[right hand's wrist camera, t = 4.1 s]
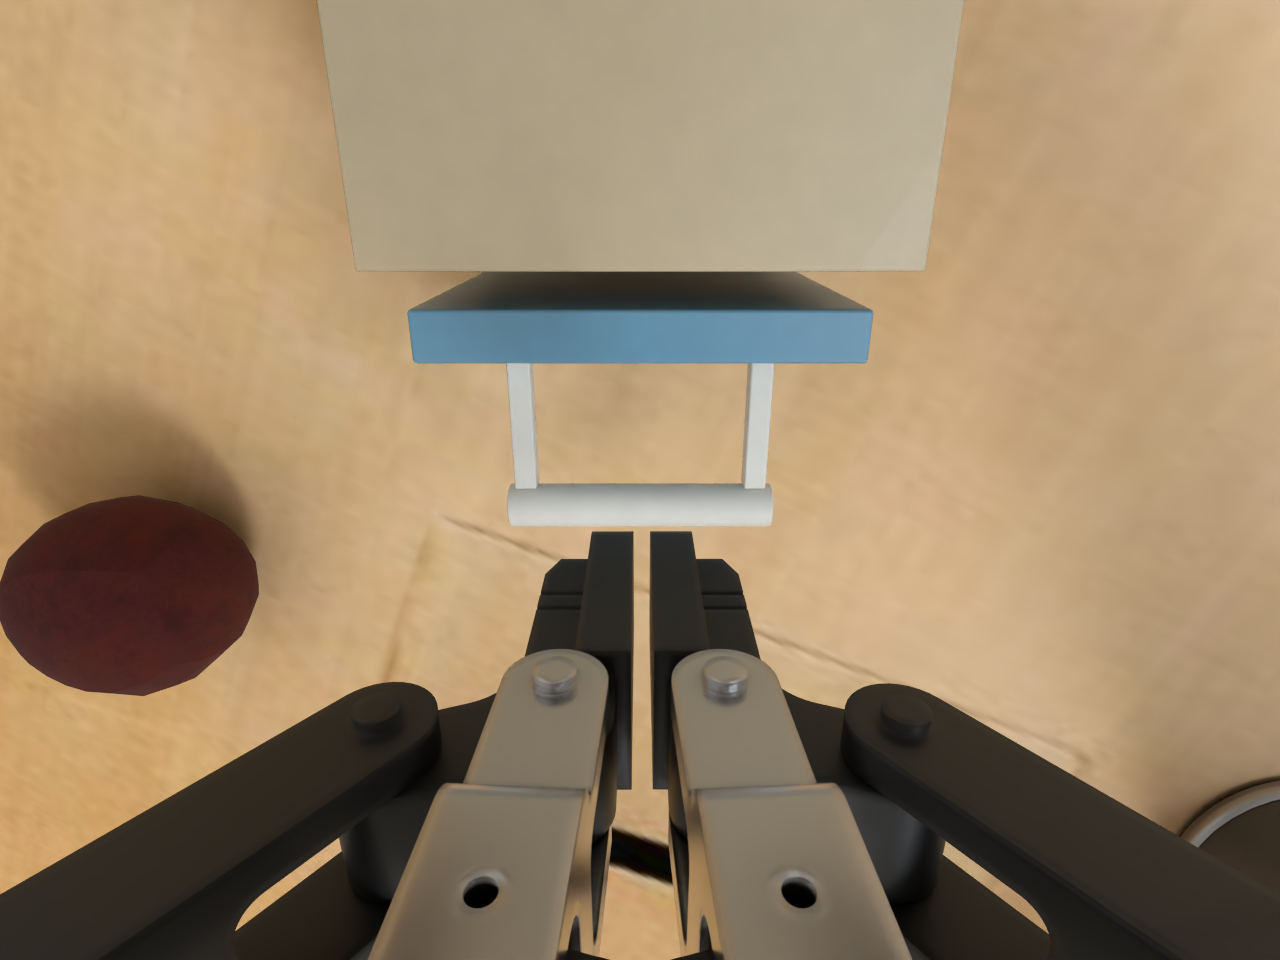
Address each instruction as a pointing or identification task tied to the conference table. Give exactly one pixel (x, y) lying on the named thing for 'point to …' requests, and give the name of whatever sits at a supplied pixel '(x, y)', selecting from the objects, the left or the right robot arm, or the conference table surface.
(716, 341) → the drawer
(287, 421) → the conference table surface
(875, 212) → the cabinet
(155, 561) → the potato
